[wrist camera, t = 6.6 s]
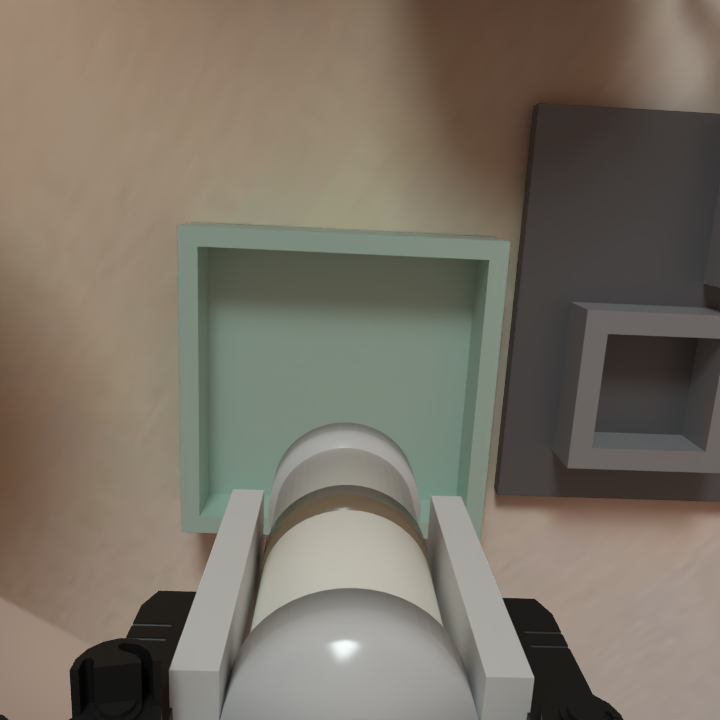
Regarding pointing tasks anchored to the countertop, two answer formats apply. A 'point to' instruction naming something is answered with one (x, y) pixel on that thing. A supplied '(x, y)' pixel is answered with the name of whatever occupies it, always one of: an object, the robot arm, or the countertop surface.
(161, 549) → the countertop surface
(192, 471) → the parts tray
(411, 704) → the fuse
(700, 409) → the block
